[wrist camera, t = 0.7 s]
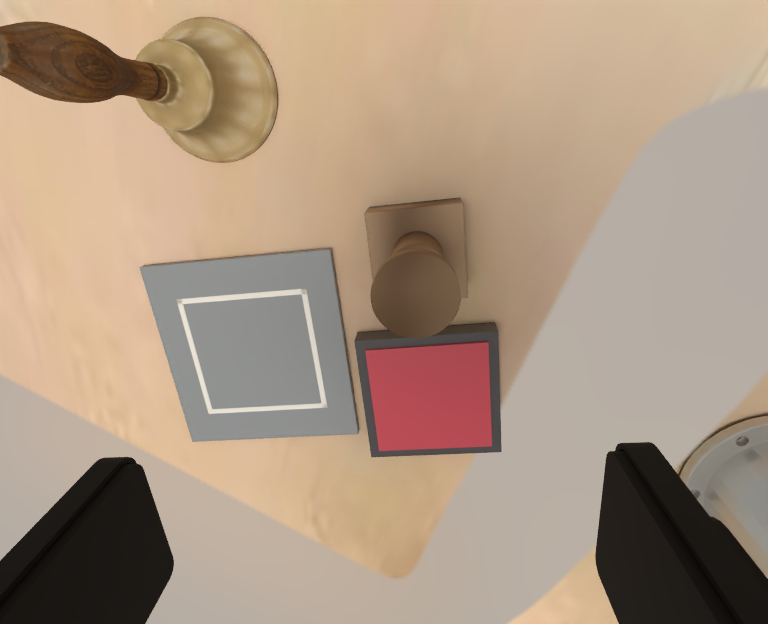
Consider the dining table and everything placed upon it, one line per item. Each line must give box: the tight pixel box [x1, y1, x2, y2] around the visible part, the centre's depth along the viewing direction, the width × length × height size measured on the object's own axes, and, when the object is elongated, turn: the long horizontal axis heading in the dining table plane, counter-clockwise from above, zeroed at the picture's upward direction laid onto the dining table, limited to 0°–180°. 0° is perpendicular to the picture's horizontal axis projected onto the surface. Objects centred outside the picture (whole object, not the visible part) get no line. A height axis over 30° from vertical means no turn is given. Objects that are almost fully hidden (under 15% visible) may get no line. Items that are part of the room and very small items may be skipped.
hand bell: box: [0, 17, 278, 163], centre depth 22 cm, size 8×8×16 cm
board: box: [140, 248, 359, 442], centre depth 35 cm, size 14×15×1 cm
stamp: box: [365, 198, 468, 338], centre depth 27 cm, size 6×6×11 cm
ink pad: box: [355, 322, 501, 457], centre depth 34 cm, size 10×10×2 cm
